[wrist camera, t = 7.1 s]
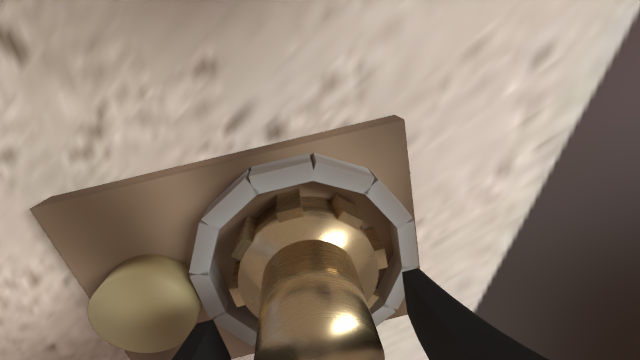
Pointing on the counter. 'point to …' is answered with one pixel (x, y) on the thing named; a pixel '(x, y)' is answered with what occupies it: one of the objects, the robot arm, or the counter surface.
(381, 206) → the carrier board
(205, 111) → the counter surface
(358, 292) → the planet gear
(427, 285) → the robot arm
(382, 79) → the counter surface
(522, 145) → the counter surface
